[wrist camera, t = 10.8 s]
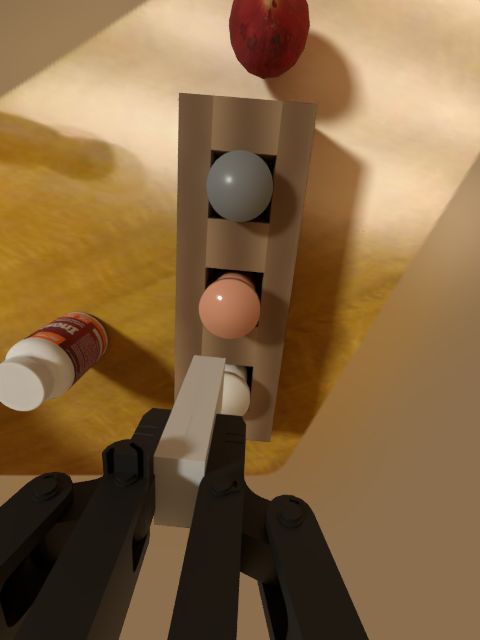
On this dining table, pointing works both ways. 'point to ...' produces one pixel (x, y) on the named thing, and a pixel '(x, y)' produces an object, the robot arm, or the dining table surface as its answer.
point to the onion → (268, 34)
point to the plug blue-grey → (239, 186)
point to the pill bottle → (51, 360)
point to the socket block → (240, 235)
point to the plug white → (235, 390)
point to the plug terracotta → (230, 304)
